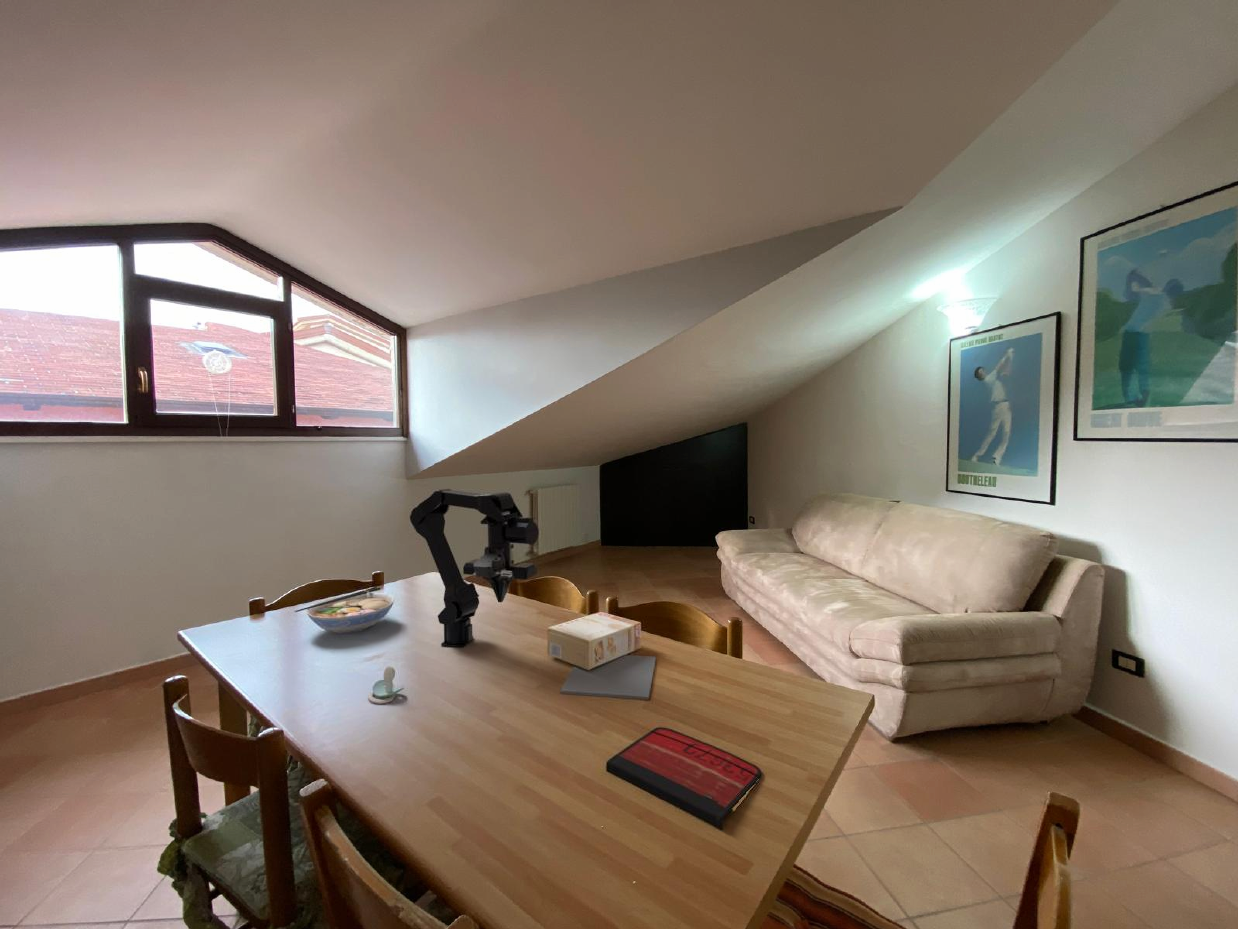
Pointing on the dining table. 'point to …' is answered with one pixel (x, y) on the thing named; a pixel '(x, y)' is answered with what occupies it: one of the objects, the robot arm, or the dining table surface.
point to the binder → (686, 773)
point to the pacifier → (385, 687)
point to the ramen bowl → (350, 611)
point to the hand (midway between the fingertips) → (500, 602)
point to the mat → (613, 678)
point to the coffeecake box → (593, 639)
